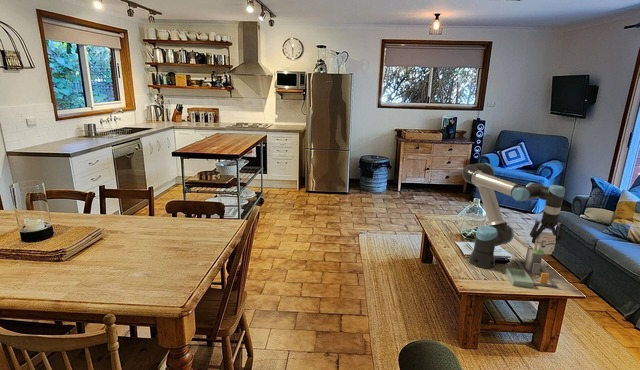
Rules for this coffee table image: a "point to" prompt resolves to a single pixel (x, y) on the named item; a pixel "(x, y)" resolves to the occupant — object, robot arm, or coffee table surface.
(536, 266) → the grey rectangular frame
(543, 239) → the ink box
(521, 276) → the tray
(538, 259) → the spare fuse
